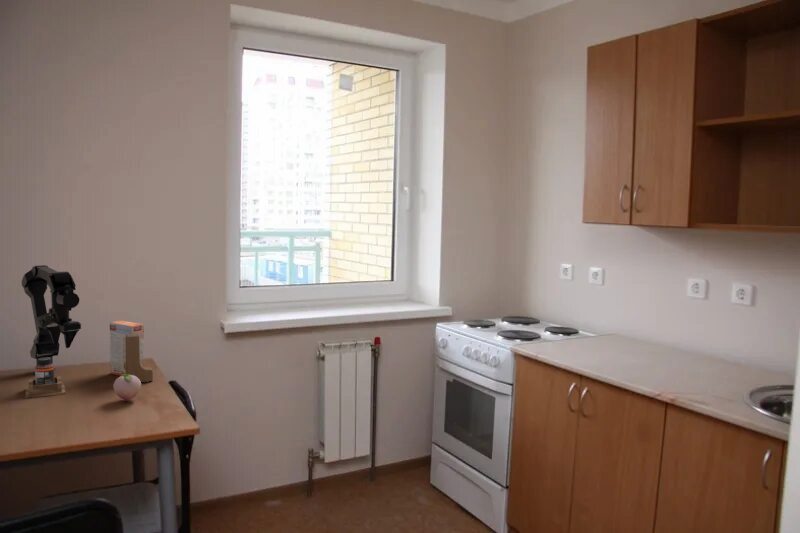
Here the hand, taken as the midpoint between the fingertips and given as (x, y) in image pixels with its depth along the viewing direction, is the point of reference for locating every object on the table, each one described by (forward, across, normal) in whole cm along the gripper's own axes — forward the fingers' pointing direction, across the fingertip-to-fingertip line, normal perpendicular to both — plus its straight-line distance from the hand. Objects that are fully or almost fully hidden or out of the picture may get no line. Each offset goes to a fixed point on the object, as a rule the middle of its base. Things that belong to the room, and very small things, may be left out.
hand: (61, 346), depth 231 cm
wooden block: (+14, +22, +18) cm, 32 cm away
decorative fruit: (+14, +41, +2) cm, 43 cm away
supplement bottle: (+13, +9, -10) cm, 19 cm away
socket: (+13, +9, -10) cm, 19 cm away
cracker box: (+14, +11, +20) cm, 26 cm away
